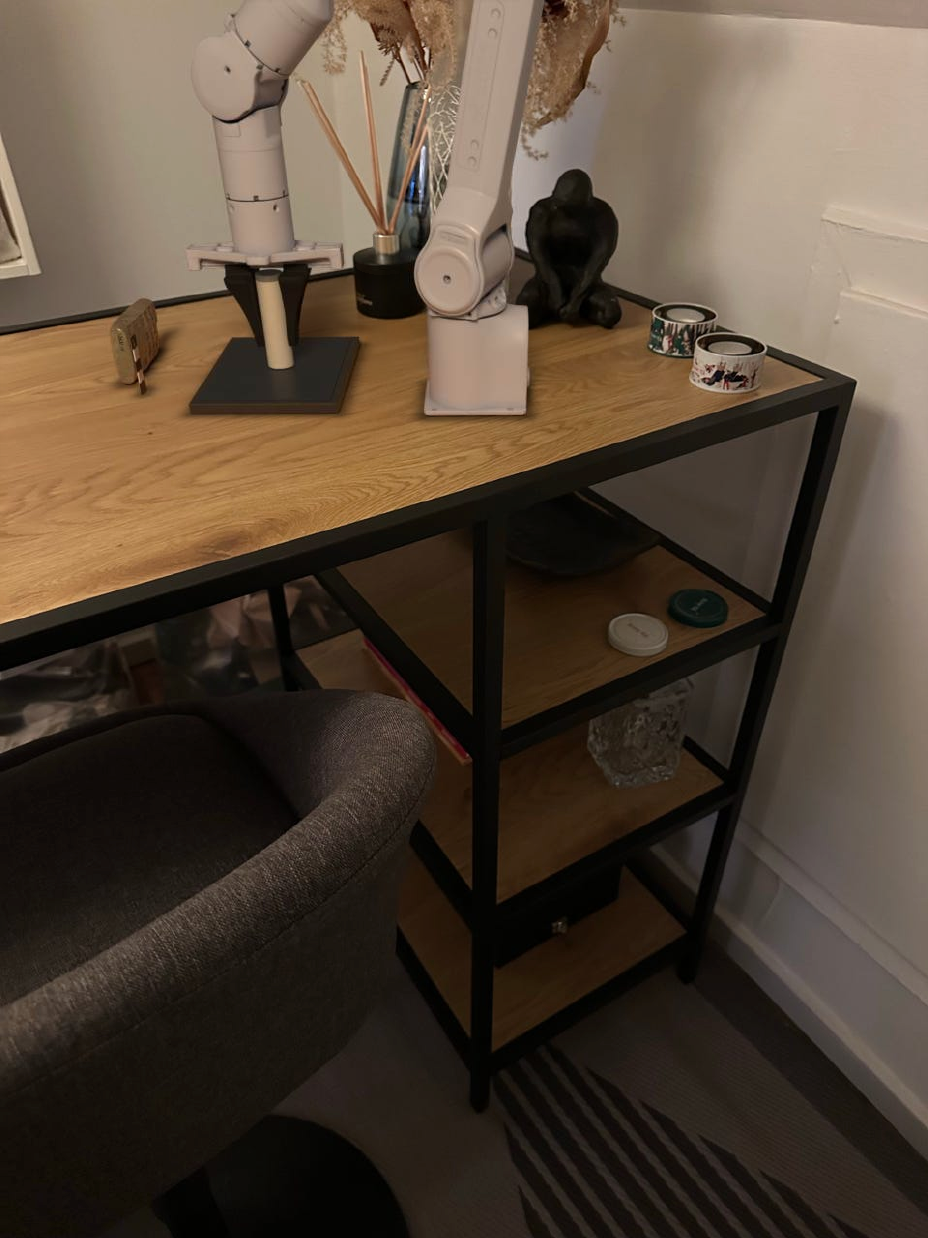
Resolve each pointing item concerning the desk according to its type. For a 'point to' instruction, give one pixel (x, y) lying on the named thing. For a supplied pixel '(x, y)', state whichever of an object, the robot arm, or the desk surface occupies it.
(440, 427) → the desk surface
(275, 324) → the stylus
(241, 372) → the plate
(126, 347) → the cuneiform tablet
